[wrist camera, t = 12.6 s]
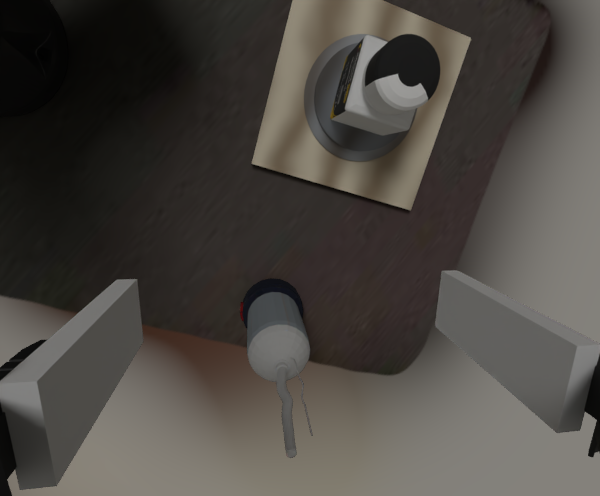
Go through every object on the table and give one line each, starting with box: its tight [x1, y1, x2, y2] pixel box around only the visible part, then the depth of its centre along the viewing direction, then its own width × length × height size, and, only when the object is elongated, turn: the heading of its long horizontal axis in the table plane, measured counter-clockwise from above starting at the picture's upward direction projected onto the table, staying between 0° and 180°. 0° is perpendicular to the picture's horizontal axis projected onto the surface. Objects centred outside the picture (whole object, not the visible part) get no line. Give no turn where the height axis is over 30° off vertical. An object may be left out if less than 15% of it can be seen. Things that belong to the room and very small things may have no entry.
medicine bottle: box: [330, 34, 440, 136], centre depth 34 cm, size 7×7×12 cm
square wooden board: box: [252, 0, 471, 210], centre depth 41 cm, size 22×22×2 cm
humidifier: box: [240, 279, 313, 458], centre depth 35 cm, size 8×8×25 cm
